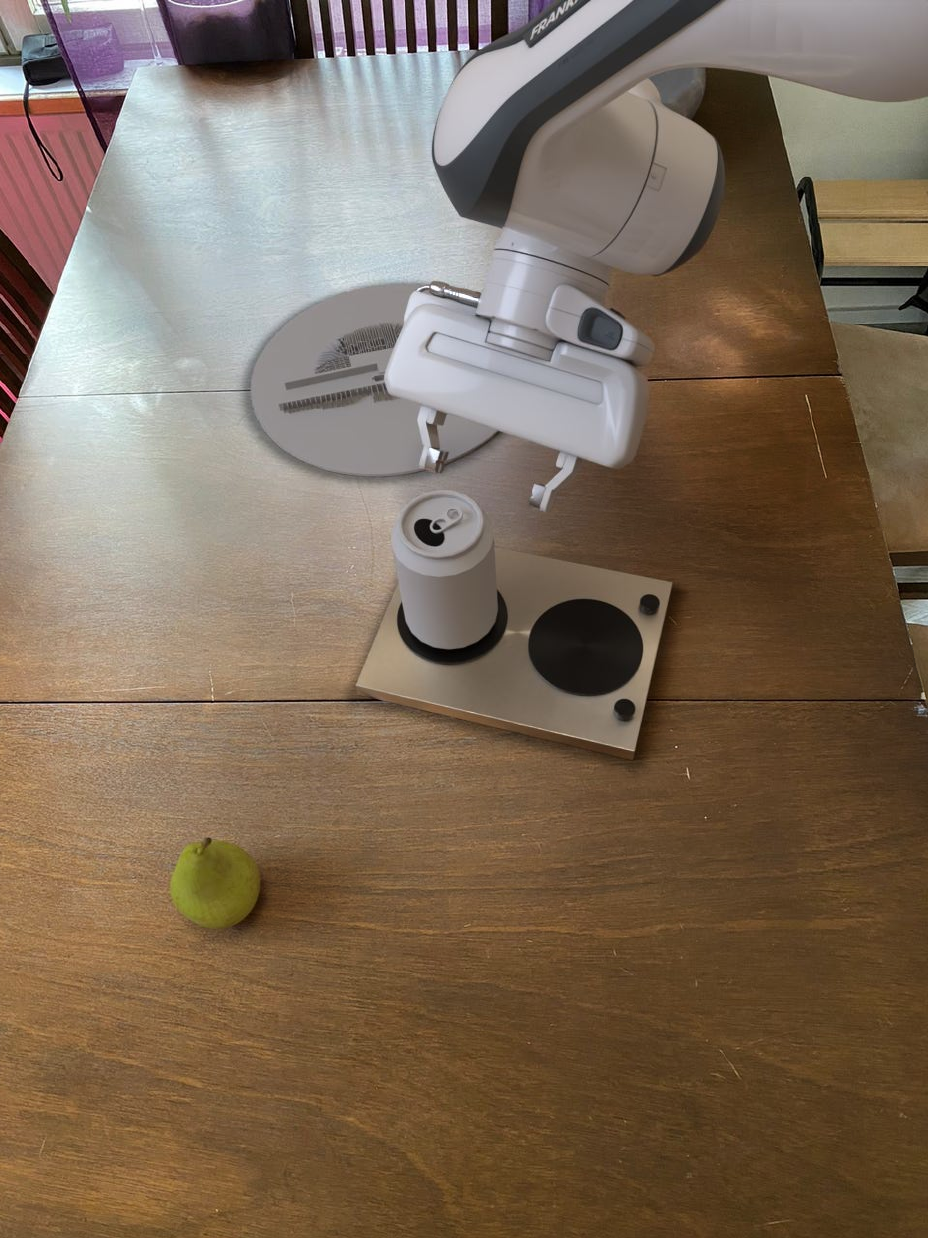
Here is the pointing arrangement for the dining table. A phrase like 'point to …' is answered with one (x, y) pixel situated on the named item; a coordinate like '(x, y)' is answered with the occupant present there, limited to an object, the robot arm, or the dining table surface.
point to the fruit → (215, 883)
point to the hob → (537, 656)
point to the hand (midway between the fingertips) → (483, 489)
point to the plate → (348, 389)
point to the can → (446, 568)
